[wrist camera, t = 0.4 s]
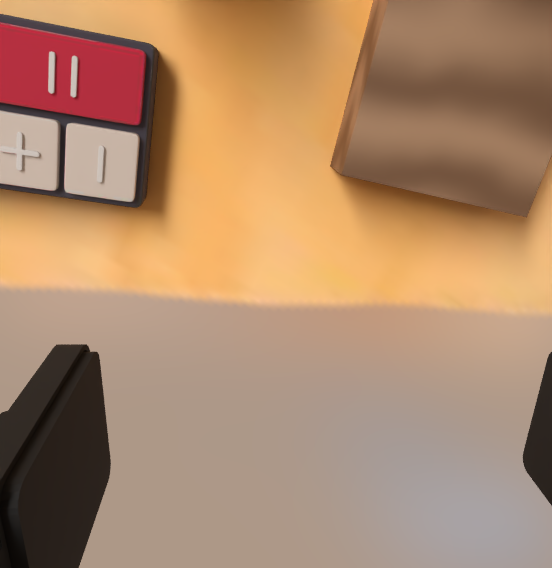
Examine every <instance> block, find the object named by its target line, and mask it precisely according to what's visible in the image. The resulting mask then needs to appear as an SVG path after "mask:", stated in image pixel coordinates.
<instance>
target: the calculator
mask: <svg viewBox="0 0 552 568" xmlns="http://www.w3.org/2000/svg"><path fill="white" fill-rule="evenodd" d="M157 68H158V50H157V49H156V48H155V47H154V46H153V45H151V44H149V43H145V42H140V41H135V40H130V39H125V38H120V37H115V36H110V35H104V34H99V33H94V32H89V31H84V30H79V29H74V28H69V27H64V26H59V25H54V24H49V23H44V22H39V21H34V20H29V19H24V18H19V17H14V16H9V15H4V14H0V188H1V189H8V190H15V191H22V192H29V193H36V194H43V195H50V196H57V197H64V198H71V199H78V200H85V201H92V202H99V203H106V204H113V205H120V206H126V207H134V208H137V207H139V206H141V204H142V203H143V201H144V199H145V198H146V192H147V181H148V170H149V158H150V147H151V136H152V124H153V113H154V102H155V90H156V79H157Z"/></svg>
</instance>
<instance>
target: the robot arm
mask: <svg viewBox="0 0 552 568" xmlns="http://www.w3.org/2000/svg"><path fill="white" fill-rule="evenodd" d="M523 463H524V467H525V469H526V471H527V473H528V474H529V475H530V477H531V478H532V480H533V481H534V482H535V484H536V485H537V486H538V487H539V489H540V490H541V492H542V493H543V494H544V495H545V497H546V498H547V500H548V501H549V503H550V504H551V505H552V352H551V353H550V354H549V357H548V359H547V363H546V367H545V371H544V374H543V378H542V382H541V386H540V390H539V394H538V398H537V402H536V406H535V409H534V413H533V417H532V421H531V425H530V429H529V433H528V437H527V440H526V444H525V448H524V453H523ZM110 464H111V463H110V451H109V443H108V433H107V424H106V415H105V405H104V395H103V386H102V377H101V367H100V359H99V354H98V353H97V352H90V350H89V347H88V346H87V345H56V346H55V347H54V348H53V349H52V351H51V352H50V353H49V355H48V356H47V358H46V359H45V360H44V362H43V363H42V365H41V366H40V367H39V369H38V370H37V371H36V373H35V374H34V375H33V377H32V378H31V380H30V381H29V382H28V384H27V385H26V387H25V388H24V389H23V391H22V392H21V394H20V395H19V396H18V398H17V399H16V400H15V402H14V403H13V404H12V406H11V407H10V409H9V410H8V411H5V412H2V413H1V414H0V568H79V565H80V562H81V559H82V556H83V553H84V550H85V547H86V544H87V542H88V539H89V536H90V533H91V530H92V527H93V524H94V521H95V518H96V515H97V512H98V509H99V506H100V503H101V500H102V497H103V495H104V492H105V488H106V486H107V483H108V479H109V475H110Z"/></svg>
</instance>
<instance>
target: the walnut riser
mask: <svg viewBox="0 0 552 568" xmlns="http://www.w3.org/2000/svg"><path fill="white" fill-rule="evenodd" d="M551 156H552V0H373V4H372V8H371V12H370V16H369V19H368V23H367V27H366V31H365V35H364V39H363V42H362V46H361V50H360V54H359V58H358V62H357V65H356V69H355V73H354V77H353V81H352V84H351V88H350V92H349V96H348V100H347V104H346V107H345V111H344V115H343V119H342V123H341V127H340V130H339V134H338V138H337V142H336V146H335V150H334V153H333V157H332V161H331V165H330V166H331V167H332V168H333V169H335V170H336V171H337V172H338V173H340V174H341V175H344V176H348V177H353V178H357V179H361V180H366V181H370V182H374V183H379V184H383V185H388V186H392V187H396V188H401V189H405V190H409V191H414V192H418V193H423V194H427V195H431V196H436V197H440V198H445V199H449V200H453V201H458V202H462V203H466V204H471V205H475V206H480V207H484V208H488V209H493V210H497V211H501V212H506V213H510V214H515V215H519V216H523V217H527V215H528V213H529V210H530V208H531V205H532V203H533V200H534V198H535V195H536V193H537V190H538V188H539V185H540V183H541V180H542V178H543V176H544V173H545V171H546V168H547V166H548V163H549V161H550V158H551Z"/></svg>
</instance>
